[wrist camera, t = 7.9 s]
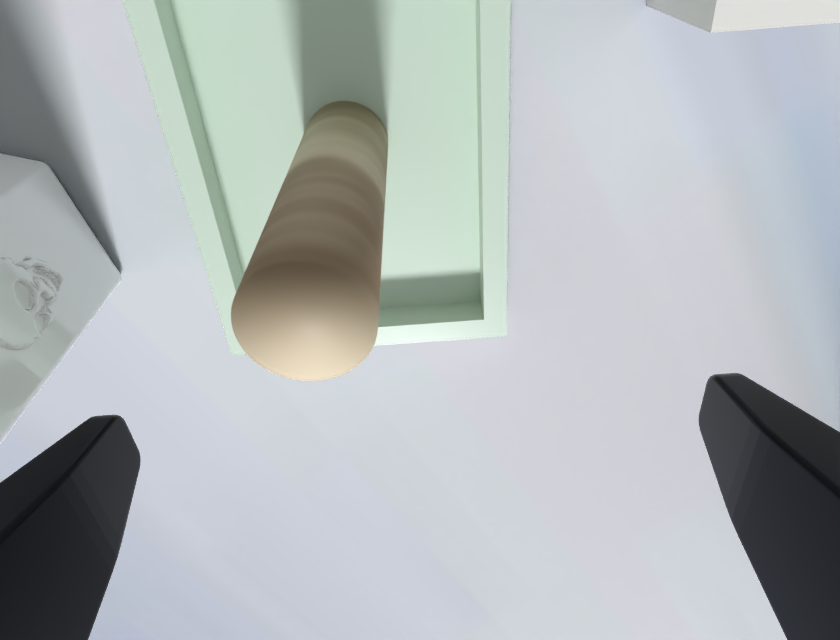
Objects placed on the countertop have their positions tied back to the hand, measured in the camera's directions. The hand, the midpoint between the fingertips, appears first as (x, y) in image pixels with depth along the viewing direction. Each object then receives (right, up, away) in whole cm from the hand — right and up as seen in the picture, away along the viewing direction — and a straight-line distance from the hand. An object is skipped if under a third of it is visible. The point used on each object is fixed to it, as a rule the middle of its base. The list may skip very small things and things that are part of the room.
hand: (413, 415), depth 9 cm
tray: (-2, +7, +10) cm, 13 cm away
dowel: (-2, +7, +10) cm, 12 cm away
